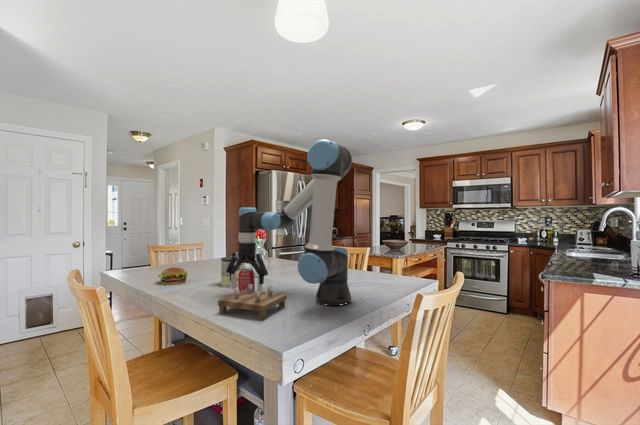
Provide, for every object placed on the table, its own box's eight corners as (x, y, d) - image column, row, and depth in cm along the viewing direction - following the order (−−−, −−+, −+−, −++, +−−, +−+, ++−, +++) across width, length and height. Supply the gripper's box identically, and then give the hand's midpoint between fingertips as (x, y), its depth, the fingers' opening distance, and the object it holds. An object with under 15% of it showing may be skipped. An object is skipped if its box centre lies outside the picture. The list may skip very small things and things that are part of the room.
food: (157, 281, 166) (157, 266, 166) (185, 279, 173) (186, 265, 173) (157, 286, 154) (158, 270, 154) (188, 284, 161) (188, 268, 161)
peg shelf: (286, 307, 121) (286, 285, 122) (263, 320, 105) (263, 295, 106) (245, 302, 128) (245, 281, 128) (218, 313, 112) (218, 290, 112)
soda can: (249, 293, 142) (249, 267, 142) (257, 296, 137) (258, 269, 137) (235, 296, 137) (235, 269, 137) (243, 299, 132) (243, 271, 132)
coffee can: (225, 282, 164) (226, 256, 165) (244, 283, 163) (244, 256, 164) (217, 287, 154) (217, 259, 154) (237, 288, 153) (237, 259, 153)
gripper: (276, 242, 136) (275, 290, 136) (229, 240, 145) (228, 285, 145) (267, 244, 129) (266, 294, 129) (218, 241, 138) (217, 289, 138)
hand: (246, 290), depth 137 cm, fingers open, 13 cm apart
